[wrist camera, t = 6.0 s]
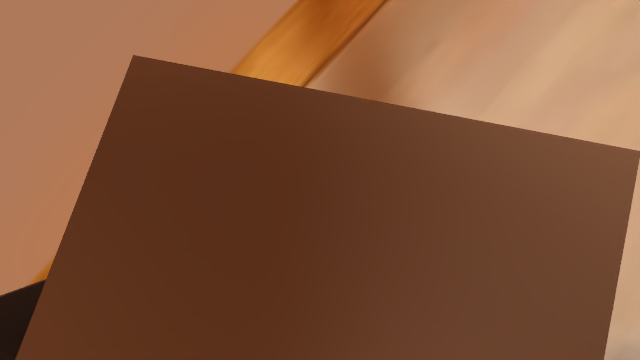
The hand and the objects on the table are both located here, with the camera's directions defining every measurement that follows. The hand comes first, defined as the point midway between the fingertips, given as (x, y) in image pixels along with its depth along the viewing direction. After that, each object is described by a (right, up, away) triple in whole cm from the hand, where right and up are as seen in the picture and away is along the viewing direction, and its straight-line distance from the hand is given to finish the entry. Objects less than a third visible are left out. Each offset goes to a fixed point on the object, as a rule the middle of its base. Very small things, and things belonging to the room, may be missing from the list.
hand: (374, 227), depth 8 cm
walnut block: (+1, -3, +6) cm, 7 cm away
